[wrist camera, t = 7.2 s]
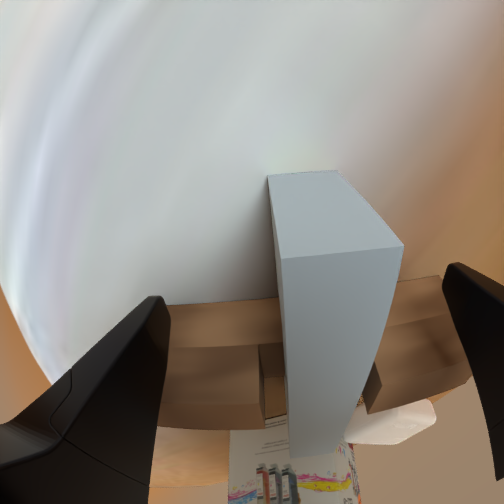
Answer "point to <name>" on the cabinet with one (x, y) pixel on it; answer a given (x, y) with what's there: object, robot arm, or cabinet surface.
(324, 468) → the ink box
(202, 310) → the brown boxy piece
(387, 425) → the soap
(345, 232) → the light blue block
